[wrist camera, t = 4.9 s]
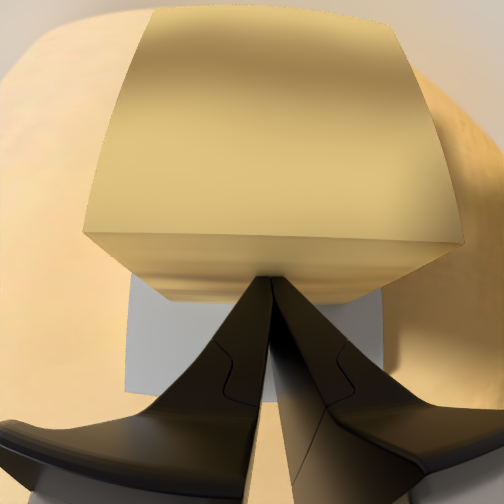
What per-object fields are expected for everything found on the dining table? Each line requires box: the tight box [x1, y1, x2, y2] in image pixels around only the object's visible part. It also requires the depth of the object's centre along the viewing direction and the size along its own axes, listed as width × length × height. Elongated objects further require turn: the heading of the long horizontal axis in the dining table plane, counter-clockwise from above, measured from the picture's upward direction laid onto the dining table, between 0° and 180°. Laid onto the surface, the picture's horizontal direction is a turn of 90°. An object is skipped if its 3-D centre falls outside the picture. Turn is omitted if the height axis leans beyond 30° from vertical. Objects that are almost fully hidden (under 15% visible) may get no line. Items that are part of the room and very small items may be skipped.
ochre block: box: [82, 5, 465, 305], centre depth 11 cm, size 8×8×9 cm
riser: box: [125, 273, 384, 402], centre depth 16 cm, size 10×12×2 cm
